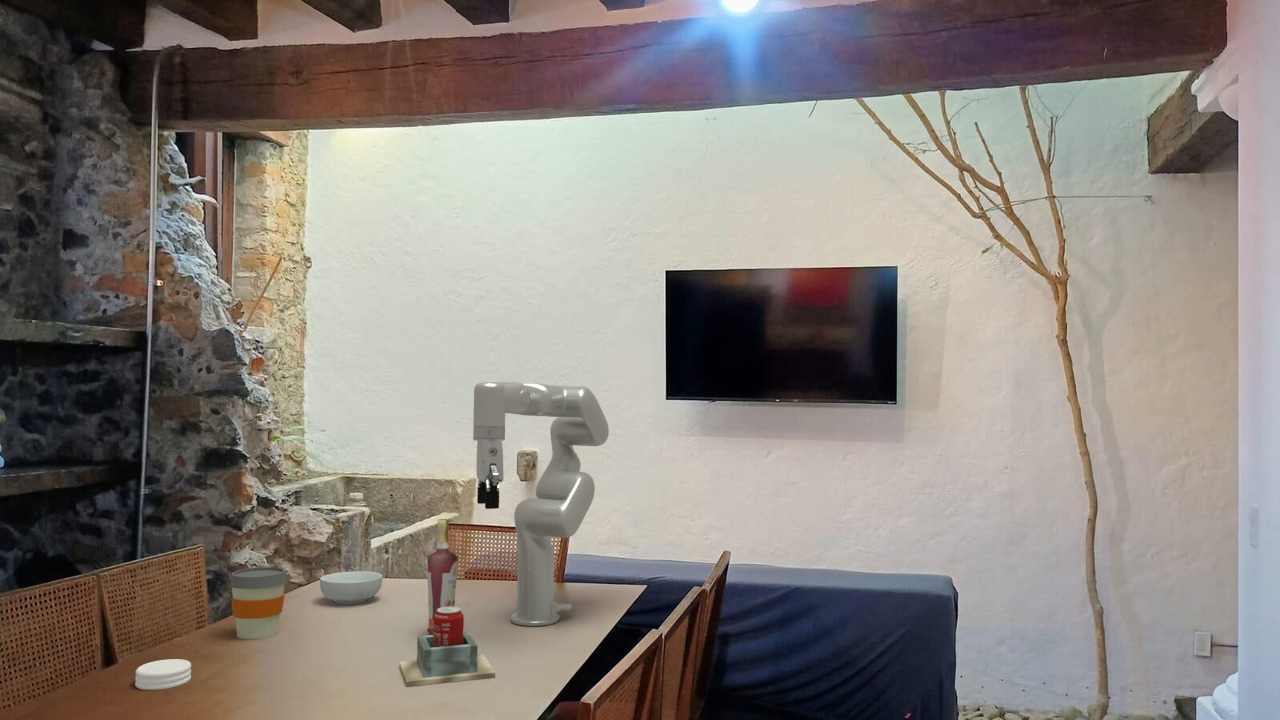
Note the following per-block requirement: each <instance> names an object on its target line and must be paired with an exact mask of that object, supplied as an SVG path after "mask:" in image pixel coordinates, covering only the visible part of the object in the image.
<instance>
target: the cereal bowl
mask: <svg viewBox="0 0 1280 720" xmlns="http://www.w3.org/2000/svg"><path fill="white" fill-rule="evenodd" d="M382 584H383V575H382V574H381V573H379V572H375V571H374V572H373V571H363V570H362V571H360V570H359V571H344V572H336V573H335V572H334V573H329V574H326V575H322V576H320V579H319V588H320V592H321V593H322V595H323V596H324V597H326V598H327V599H329V600H333V602H334V601H335V603H336V604H339V605H358V604H361V603H364V602H366V600H367V599H370V598H373V597H374V596H375V595H377V593H379V591H380V590H381V588H382Z"/></svg>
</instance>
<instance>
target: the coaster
mask: <svg viewBox="0 0 1280 720" xmlns="http://www.w3.org/2000/svg"><path fill="white" fill-rule="evenodd" d="M191 667H192V663H191V661H189V660H187V659H183V658H182V659H180V658H173V659H172V658H170V659H159V660H155V661H151V662H146V663H144V664H142V665H139V666H138V667H137V669H136V670H135V672H134V673H135V682H134V685H135V687H136V688H138V689H140V690H143V691H145V690H146V691H158V690H160V691H161V690H167V689H173V688H176V687H179V686H182V685H185V684H187V683H188V682H189V681H190V680H191V678H192V676H191V673H192V668H191Z"/></svg>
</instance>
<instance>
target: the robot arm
mask: <svg viewBox="0 0 1280 720" xmlns="http://www.w3.org/2000/svg"><path fill="white" fill-rule="evenodd" d="M600 405H601V404H600V403H599V401H598V398H597V397H596V396H595V395H594V393H593V391H591V389H590V388H588V387H586V386H575V385H574V386H573V385H571V386H566V385H565V386H563V385H550V384H544V383H521V382H514V381H513V382H510V381H509V382H507V381H504V382H503V381H489V382H488V381H487V382H485V381H484V382H479V383H477V384H475V386H474V388H473V422H472V423H473V426H472V427H473V428H472V429H473V431H472V434H473V435H472V440H473V441H477V443H476V444H477V445H476V464H475V465H476V470H475V471H476V478H477V480H478V481H477V504H478V505H484V508H485V509H486V510H491V509H494V510H495V509H499V508H500V483H502V482H503V481H504V450H503V449H504V448H503V442H502V441H506V414H513V415H519V416H530V417H551V418H552V417H553V418H555V419H553V420H552V423H551V426H550V429H549V430H550V431H549V433H550V442H551V451H552V454H551V459H550V462H549V463H548V464H547V466H546V468H545V470H544V472H543V473H542V475H541V477H540V479H539V481H538V482H537V484H536V488H535V496H536V497H535V498H534V497H532V498H526V499H523V500H521V501H520V502H519V503H518V504H517V505H516V507H515V510H514V513H513V514H514V516H513V517H514V526H515V531H516V532H515V533H516V538H517V539H516V540H517V570H516V571H517V572H516V573H517V574H516V575H517V576H516V582H517V583H516V612H514V613H513V614H511V615H510V622H512V623H513V624H515V625H519V626H525V627H538V626H539V627H542V626H548V625H552V624H555V623H558V621H559V620H560V613H561V612H564V613H567V612H569V613H570V612H572V604H571V603H563V602H561V603H557V602H555V600H554V597H555V596H554V594H555V593H554V591H555V589H554V588H555V583H554V581H555V551H554V550H555V549H554V548H553V547H554V546H553V544H552V542H551V540H550V539H549V538H550V537H552V538H562V539H564V538H565V539H566V538H567V539H568V538H571V537H573V536H575V534H576V533H577V532H578V530H579V529H580V526H581V524H582V523H583V520H584V519H585V517H586V514H587V513H588V511H589V509H590V507H591V505H592V503H593V500H594V497H595V493H596V492H595V489H596V487H595V486H596V485H595V480H594V478H593V477H592V476H591V474H589V473H587V472H584V471H581V467H582V463H581V461H580V460H581V459H580V458H579V457H578V454H577V453H576V451H575V449H574V447H573V446H579V447H580V446H581V447H583V446H585V447H599V446H602V445H604V444H605V443H606V442H607V440H608V438H609V433H610V430H609V424H608V420H607V419H606V416H605V414H604V412H603V410H602V407H601V406H600Z"/></svg>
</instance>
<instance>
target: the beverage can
mask: <svg viewBox="0 0 1280 720" xmlns="http://www.w3.org/2000/svg"><path fill="white" fill-rule="evenodd" d="M461 610H462V609H461V607H458V606H455V607H441V608H438V609H437V613H436V614H435V615H434V623H433V647H444V646H455V645H463V633H464V630H465V627H464V625H465V624H464V622H465V620H464V618H465V615H464V614H463V612H462V611H461Z"/></svg>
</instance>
